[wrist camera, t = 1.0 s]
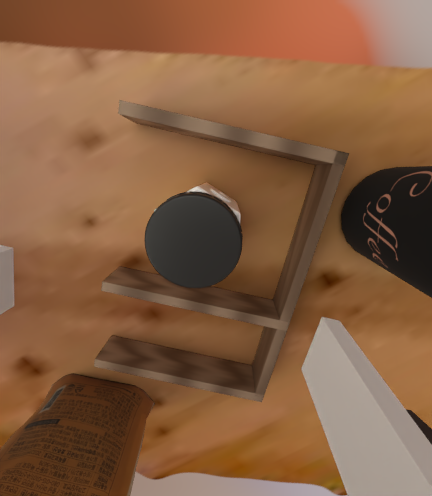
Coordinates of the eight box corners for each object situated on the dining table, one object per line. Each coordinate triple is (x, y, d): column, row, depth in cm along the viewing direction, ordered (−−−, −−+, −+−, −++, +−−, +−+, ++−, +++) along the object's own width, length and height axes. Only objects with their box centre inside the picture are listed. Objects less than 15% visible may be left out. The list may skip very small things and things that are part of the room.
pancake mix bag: (45, 358, 39) (-342, 755, 13) (166, 382, 40) (37, 819, 13) (45, 392, 41) (-290, 797, 15) (160, 414, 42) (39, 853, 15)
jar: (252, 210, 31) (267, 231, 20) (218, 261, 34) (213, 307, 22) (191, 170, 30) (169, 169, 19) (159, 226, 33) (122, 255, 21)
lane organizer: (111, 342, 38) (94, 366, 33) (137, 111, 29) (119, 99, 24) (257, 373, 38) (261, 402, 34) (329, 156, 29) (349, 153, 24)
